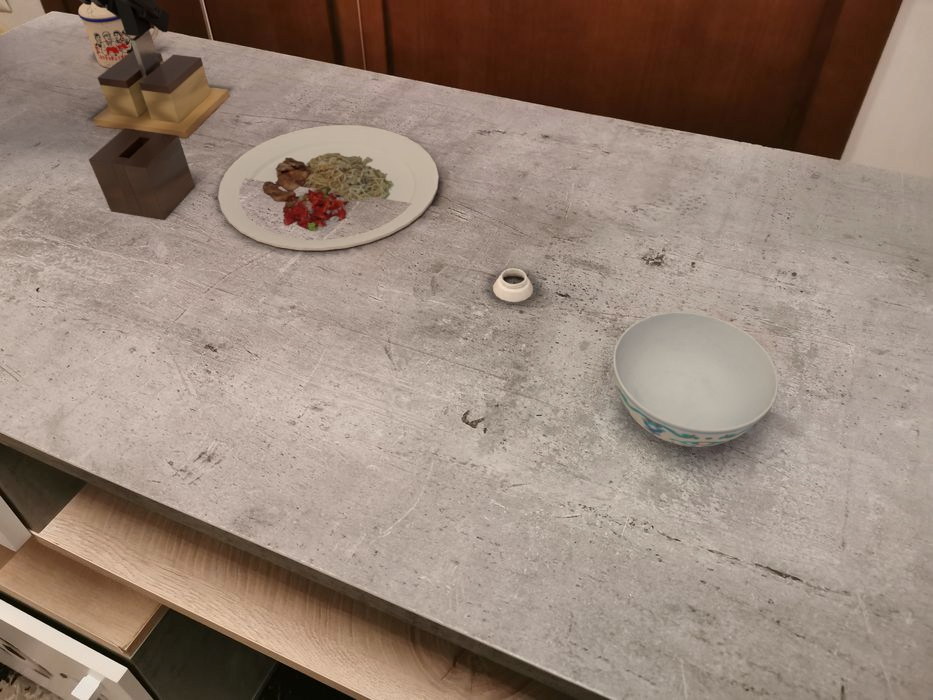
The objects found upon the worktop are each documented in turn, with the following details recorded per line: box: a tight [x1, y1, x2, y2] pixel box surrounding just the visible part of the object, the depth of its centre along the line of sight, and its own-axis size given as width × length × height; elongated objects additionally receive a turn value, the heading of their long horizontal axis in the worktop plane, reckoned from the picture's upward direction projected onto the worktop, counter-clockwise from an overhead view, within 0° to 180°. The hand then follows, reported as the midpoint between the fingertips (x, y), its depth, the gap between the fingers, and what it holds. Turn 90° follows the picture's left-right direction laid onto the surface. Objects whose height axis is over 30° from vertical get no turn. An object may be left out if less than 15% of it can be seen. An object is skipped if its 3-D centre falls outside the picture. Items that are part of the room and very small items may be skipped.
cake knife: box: [114, 0, 160, 79], centre depth 110 cm, size 2×4×20 cm, turn 166°
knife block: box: [88, 128, 196, 221], centre depth 96 cm, size 8×8×9 cm
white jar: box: [492, 267, 534, 303], centre depth 85 cm, size 5×3×5 cm
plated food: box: [217, 124, 439, 251], centre depth 100 cm, size 30×30×3 cm
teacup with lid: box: [78, 2, 159, 69], centre depth 127 cm, size 12×9×12 cm
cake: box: [92, 50, 230, 139], centre depth 115 cm, size 16×14×7 cm
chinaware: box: [612, 311, 779, 448], centre depth 71 cm, size 15×15×8 cm
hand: (152, 21), depth 111 cm, fingers open, 4 cm apart
